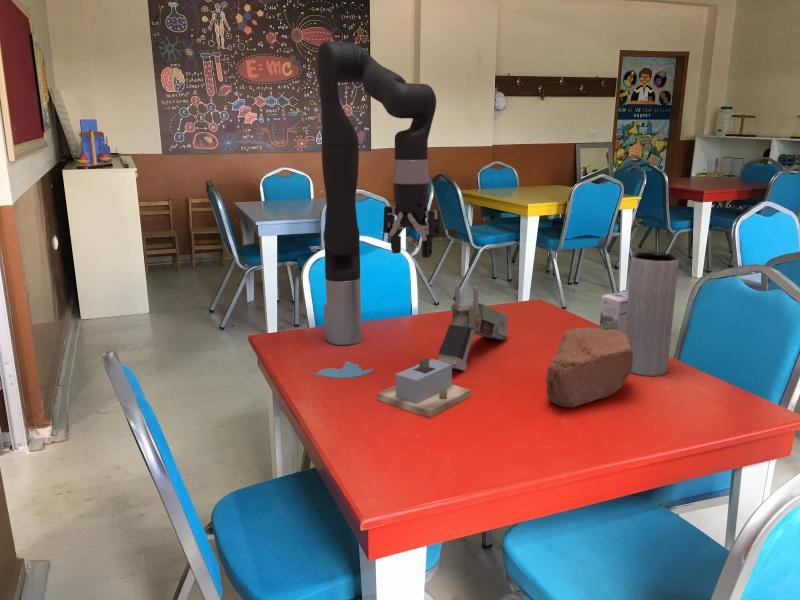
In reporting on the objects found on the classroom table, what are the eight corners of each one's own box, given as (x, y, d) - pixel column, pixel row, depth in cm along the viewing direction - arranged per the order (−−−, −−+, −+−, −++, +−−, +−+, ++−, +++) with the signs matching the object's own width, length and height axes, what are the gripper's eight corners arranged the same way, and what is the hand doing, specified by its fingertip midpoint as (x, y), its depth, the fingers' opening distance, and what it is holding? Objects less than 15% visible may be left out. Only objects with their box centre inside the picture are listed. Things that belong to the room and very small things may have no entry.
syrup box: (630, 351, 167) (635, 296, 163) (615, 356, 163) (619, 299, 160) (611, 345, 171) (616, 291, 167) (596, 349, 168) (600, 295, 164)
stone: (511, 397, 135) (535, 335, 128) (559, 359, 155) (581, 304, 149) (583, 438, 128) (612, 375, 121) (623, 393, 148) (650, 337, 141)
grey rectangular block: (431, 380, 144) (431, 358, 143) (451, 386, 141) (452, 364, 139) (395, 396, 135) (395, 374, 134) (416, 403, 132) (416, 380, 130)
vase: (617, 361, 160) (627, 251, 153) (660, 362, 159) (671, 252, 152) (627, 375, 150) (637, 260, 143) (672, 377, 149) (685, 260, 142)
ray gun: (431, 364, 150) (445, 279, 152) (476, 372, 179) (488, 301, 180) (459, 369, 147) (474, 282, 149) (501, 377, 176) (513, 304, 177)
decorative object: (377, 371, 155) (346, 362, 161) (377, 368, 155) (346, 360, 161) (342, 386, 146) (310, 376, 152) (342, 383, 146) (310, 374, 152)
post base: (377, 399, 138) (376, 361, 135) (419, 380, 148) (419, 345, 146) (429, 418, 129) (430, 377, 127) (470, 396, 139) (471, 358, 137)
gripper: (448, 181, 139) (447, 256, 143) (397, 178, 148) (397, 249, 152) (426, 183, 133) (425, 261, 137) (374, 180, 142) (375, 253, 146)
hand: (411, 255), depth 145 cm, fingers open, 8 cm apart
